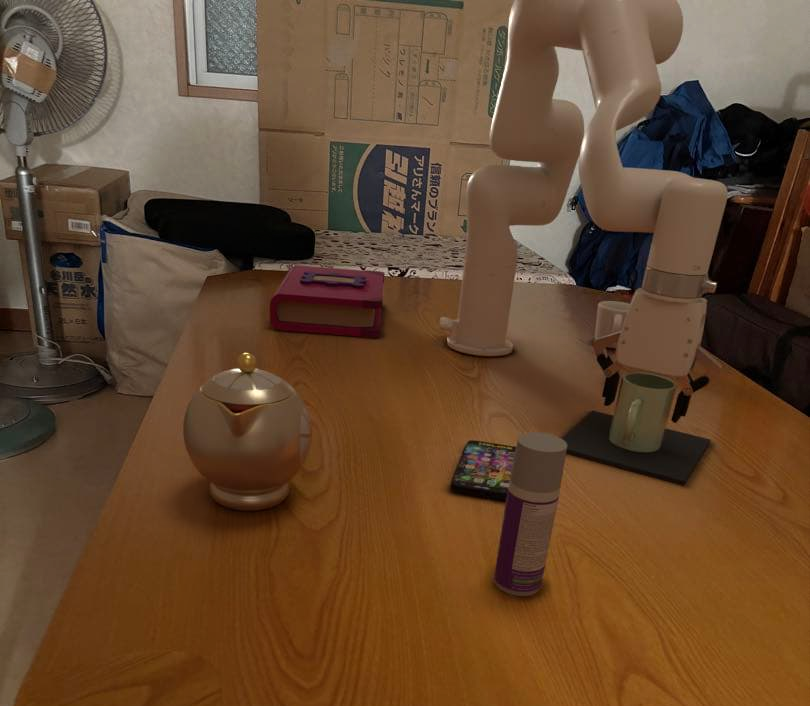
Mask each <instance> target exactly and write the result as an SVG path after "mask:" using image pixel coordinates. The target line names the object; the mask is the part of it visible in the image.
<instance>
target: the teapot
mask: <svg viewBox="0 0 810 706" xmlns="http://www.w3.org/2000/svg"><path fill="white" fill-rule="evenodd" d="M257 367H258V361H257V359H256V357H255V356H254V354H251V353H249V352H244V353H242V354H240V355H239V356H238V357H237V359H236V367H235V368H231V369H227V370H224V371H221V372H219V373H217V374H215V375H213V376H211V377H210V378H209V379H208V380H206V381H205V382H203V383H202V384H201V385H200V387H199V388H198V389H197V390H196V391H195V393H194V394H193V395H192V396H191V399H190V400H189V402H188V405H187V407H186V410H185V412H184V413H185V414H184V416H183V417H184V418H183V426H182V427H183V428H182V429H183V430H182V434H183V442H184V446H185V449H186V452H187V454H188V457H189V459H190V461H191V462H192V465H193V466H194V467H195V468H196V471H198V472H199V474H201V476H203V478H205V480H207V481H208V482H209V488H208V489H209V494H210V496H211V498H212V499H213V500H214V502H216V503H217V504H219V505H221V506H222V507H225V508H228V509H231V510H235V511H243V512H244V511H245V512H248V511H249V512H253V511H254V512H256V511H262V510H267V509H268V510H269V509H271V508H274V507H276V506H278V505H279V504H281V503H282V502H284V501H285V500H286V499H287V498H288V496H289V493H290V484H289V482H290V481H291V480H292V479H293V478H294V477H295V476H296V475H297V474H298V472H299V471H300V470H301V469H302V467H303V465H304V464H305V462H306V460H307V458H308V455H309V453H310V448H311V444H312V439H313V438H312V437H313V434H312V433H313V429H312V421H311V417H310V413H309V410H308V408H307V406H306V404H305V402H304V399H303V398H302V397H301V395H300V394H299V392H298V391H297V390H296V389H295V388H294V387H293V386H292V385H291V384H290V383H288V381H286V380H285V379H283V378H282V377H280V376H278V375H276V374H274V373H272V372H270V371H268V370H264V369H260V368H257Z"/></svg>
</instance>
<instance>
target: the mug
mask: <svg viewBox="0 0 810 706" xmlns="http://www.w3.org/2000/svg"><path fill="white" fill-rule="evenodd" d="M677 388H678V384H677V383H676V382H675V381H673V380H672V379H670V378H668V377H666V376H663V375H659V374H655V373H649V372H629V373H625V374H623V375H622V377H621V381H620V385H619V389H618V392H617V393H618V394H617V398H616V403H615V407H614V411H613V415H614V416H613V420H612V424H611V429H610V436H609V439H610V441H611V442H612V443H613V444H615V445H616V446H618V447H621V448H624V449H627V450H631V451H636V452H654V451H657V450H659V449H660V447H661V444H662V441H663V437H664V434H665V430H666V429H667V426H668V422H669V418H670V414H671V411H672V407H673V403H674V399H675V395H676V391H677Z"/></svg>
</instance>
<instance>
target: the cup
mask: <svg viewBox="0 0 810 706" xmlns="http://www.w3.org/2000/svg"><path fill="white" fill-rule="evenodd" d="M629 306H630V303H628V302H623V301H615V300H604V301H600V302H598V303H597V311H596V319H595V320H596V322H595V333H594V340H596V339H598V338H601V337H604V336H607V335H610V334H613V333H616V332H620V331H621V330H622V327H623V324H624V320H625V317H626V314H627V311H628V309H629ZM617 344H618V342H617V343H614V344H611V345H608V346H606V349H614V350H616V348H617Z"/></svg>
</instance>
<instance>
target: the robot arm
mask: <svg viewBox="0 0 810 706" xmlns="http://www.w3.org/2000/svg"><path fill="white" fill-rule="evenodd" d="M683 30H684V16H683V12H682V8H681V6H680V4H679V2H678V0H513V2H512V5H511V8H510V12H509V18H508V28H507V52H506V53H507V55H506V61H505V67H504V71H503V75H502V79H501V83H500V87H499V90H498V95H497V99H496V103H495V108H494V111H493V117H492V121H491V125H490V130H489V139H488V141H489V147H490V150H491V152H492V153H493V154H494V155H495V156H496V157H497V158H500V159H503V160H506V161H515V162H527V163H537V164H536V166H521V165H512V164H511V165H510V164H489V165H484V166H481V167H479V168H477V169H476V170H475V171H473V173H472V174H471V175H470V177H469V178H468V181H467V184H466V190H465V204H466V206H465V208H466V239H465V250H464V261H463V270H462V278H461V286H460V287H461V288H460V297H459V304H458V313H457V318H455V319H451V318H450V317H446V316H445V317H444V316H441V317H440V318H439V321H438V328H439V329H440V330H443V331H449V333H450V335H449V336H447V340H446V345H447V346H448V347H449V348H450V349H452V350H454V351H456V352H459V353H463V354H467V355H472V356H479V357H501V356H506V355H509V354H511V353H512V352H513V348H514V343H513V342H512V341H510V340H509V339H507V334H508V333H507V332H508V326H509V318H510V312H511V306H512V305H511V304H512V299H513V291H514V285H515V278H516V271H517V266H518V265H517V264H518V257H519V256H518V247H517V243H516V241H515V239H514V236H513V233H512V231H511V229H510V227H511V226H512V227H513V226H533V227H534V226H535V227H537V226H546V225H549V224H551V223H553V222H554V221H555V220H556V219H557V217H558V216H559V214H560V212H561V210H562V208H563V206H564V203H565V200H566V196H567V195H568V192H569V188H570V186H571V182H572V178H573V175H574V172H575V169H576V167H577V164H578V177H579V181H580V187H581V191H582V195H583V200H584V204H585V206H586V209H587V212H588V214H589V217H590V219H591V220H592V222H593V223H594V224H595V225H596V226H597V227H598V228H600V229H602V230H603V231H606V232H607V231H608V232H621V233H622V232H623V233H645V234H647V233H648V234H653V235H652V240H651V244H650V249H649V253H648V258H647V262H646V267H645V270H644V275H643V279H642V284H641V287H638V288H637V289H636V290H635V292H634V294H633V296H632V299H631V301H630V303H629V304H630V306H629V309H628V311H627V314H626V317H625V320H624V324H623V327H622V330H621V331H620V332H616V333H613V334H610V335H607V336H604V337H601V338H598V339H596V340H595V339H594V340H593V341H592V347H593V350H594V354H595V356H596V362H597V363H598V365H599V367H600V368H601V369H602V371H603V375H604V377H605V380H604V385H603V388H602V394H601V397H602V398H604V402H603V406H605V407H609V406H611V405H612V404H613V403H614V402H615V401H616V396H617V393H618V388H619V383H620V379H621V375H620V370H621V369H622V368H624V367H625V368H628V369H632V370H637V371H641V372H645V373H649V374H654V375H658V376H663V377H669V378H675V379H676V381H677V382H678V385H679V386H680V389H681V390H680V392H679V393H678V394H677V396H676V401H675V404H674V408H673V412H672V415H671V419H670V421H671V422H672V423H674V424H677V423H678V422H679V421H680V419H681V417H686V415H687V413H688V410H689V409H688V408H689V406H690V402H691V398H692V394H694V393H696V392H698V391H699V390H701V389H703V388H705V387H706V386H707V385H709V383H710V382H712V381H713V380H714V378H715V377H717V376H718V374H719V373H720V372H721V371H722V369H723V365H722V364H721V362H719V361H718V360H717V359H716V358H714V357H713V356H712V355H711V354H710V353H708V352H707V351H706V350H705V349H704V348H703V347H702V346H701V343H702V339H703V335H704V328H705V324H706V323H705V322H706V316H707V308H708V307H707V304H708V300H707V299H706V298H703V297H702V296H703V295H704V294H708V293H711V294H715V292H716V289H717V285H718V282H717V281H712V279H710V277H709V269H710V265H711V261H712V257H713V254H714V250H715V247H716V242H717V238H718V236H719V231H720V228H721V224H722V219H723V216H724V212H725V208H726V205H727V200H728V196H729V194H728V189H727V186H726V184H724V183H722V181H721V182H720V181H717V180H714V179H706V178H699V177H693V176H691V175H689V174H687V173H684V172H682V171H676V170H667V169H654V168H641V167H640V168H639V167H623V164H622V160H621V155H620V152H619V149H618V143H617V131H620V130H623V129H624V128H626V127H628V126H631V125H632V124H634V123H637V122H638V121H640V120H641V119H643V118H644V117H646V116H647V115H648V114H649V113H650V112H651V111H652V110H654V108H655V107H656V106H657V104H658V103H659V101H660V98H661V96H662V83H661V78H660V75H659V72H658V67H657V65H660V64H663V63H665V62H667V61H668V60H669V59H671V57H672V56H673V55H674V54H675V52H676V51H677V50H678V47H679V45H680V42H681V39H682V35H683V32H684V31H683ZM556 48H562V49H568V50H574V51H581V52H582V55H583V59H584V63H585V68H586V72H587V76H588V77H587V78H588V82H589V86H590V90H591V95H592V98H593V103H594V107H595V112H594V114H593V116H592V118H591V120H590V121H589V122H588V124H587V126H586V129H585V121H584V115H583V113H582V110H581V109H580V108H579V107H578V105H577V104H575V103H574V102H572V101H569V100H566V99H557V98H553V96H554V93H555V90H556V86H557V83H558V79H559V76H560V75H559V74H560V63H559V58H558V54H557V53H558V52H557V50H556ZM617 342H618V344H617V348H616V349H615V354H614V360H615V361H614V362H613V360H612V359H611V357H610V355H609V354H608V352H607V347H606V346H608V345H611V344H614V343H617ZM697 361H698V362H699V363H700V364H701V365H702V366H703V367H705V368H706V371H705V373H703V375H701V376H699V377H698V378H696V379H694V376H693V374H692V372H691V371H693V370H694V369H695V366H696V363H697Z"/></svg>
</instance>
